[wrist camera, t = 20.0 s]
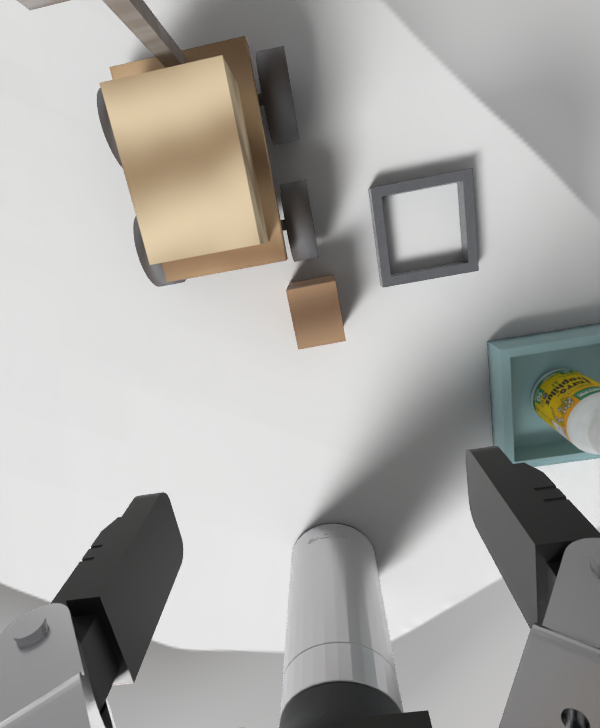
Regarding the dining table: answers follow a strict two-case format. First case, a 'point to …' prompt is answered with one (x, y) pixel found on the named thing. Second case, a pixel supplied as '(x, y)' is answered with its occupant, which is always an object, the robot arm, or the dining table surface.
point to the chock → (315, 312)
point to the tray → (515, 385)
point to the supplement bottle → (570, 407)
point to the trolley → (202, 152)
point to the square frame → (466, 224)
